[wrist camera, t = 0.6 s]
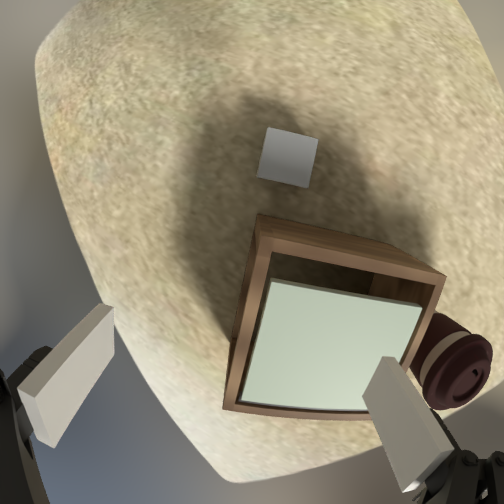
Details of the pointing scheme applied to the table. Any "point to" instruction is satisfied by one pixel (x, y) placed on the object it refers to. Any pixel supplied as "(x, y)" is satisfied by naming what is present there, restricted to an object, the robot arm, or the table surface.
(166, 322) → the table surface
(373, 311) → the trapdoor
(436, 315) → the coffee cup
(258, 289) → the box frame
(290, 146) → the block
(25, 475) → the robot arm
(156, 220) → the table surface
